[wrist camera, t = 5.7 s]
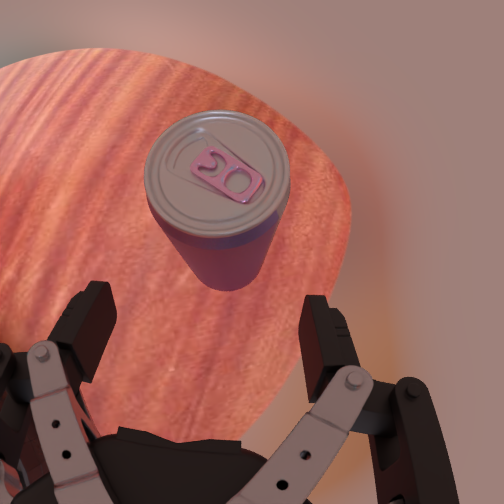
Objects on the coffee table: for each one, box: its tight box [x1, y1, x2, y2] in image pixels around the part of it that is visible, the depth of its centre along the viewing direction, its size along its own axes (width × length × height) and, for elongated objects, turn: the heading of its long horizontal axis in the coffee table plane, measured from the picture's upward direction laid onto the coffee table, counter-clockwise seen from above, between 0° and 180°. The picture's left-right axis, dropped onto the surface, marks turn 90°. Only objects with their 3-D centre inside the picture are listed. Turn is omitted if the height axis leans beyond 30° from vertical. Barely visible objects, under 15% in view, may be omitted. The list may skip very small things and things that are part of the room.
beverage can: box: [144, 110, 290, 291], centre depth 18 cm, size 6×6×15 cm
